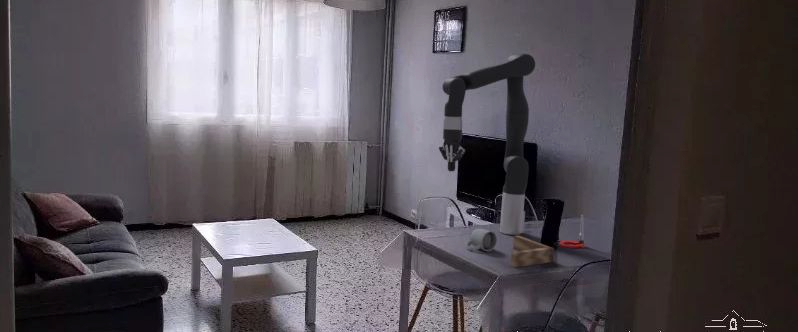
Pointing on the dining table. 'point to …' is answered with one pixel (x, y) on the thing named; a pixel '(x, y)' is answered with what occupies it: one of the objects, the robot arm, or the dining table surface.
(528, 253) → the corner walls
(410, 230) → the dining table surface
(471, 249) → the ceramic mug
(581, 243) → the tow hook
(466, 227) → the dining table surface
